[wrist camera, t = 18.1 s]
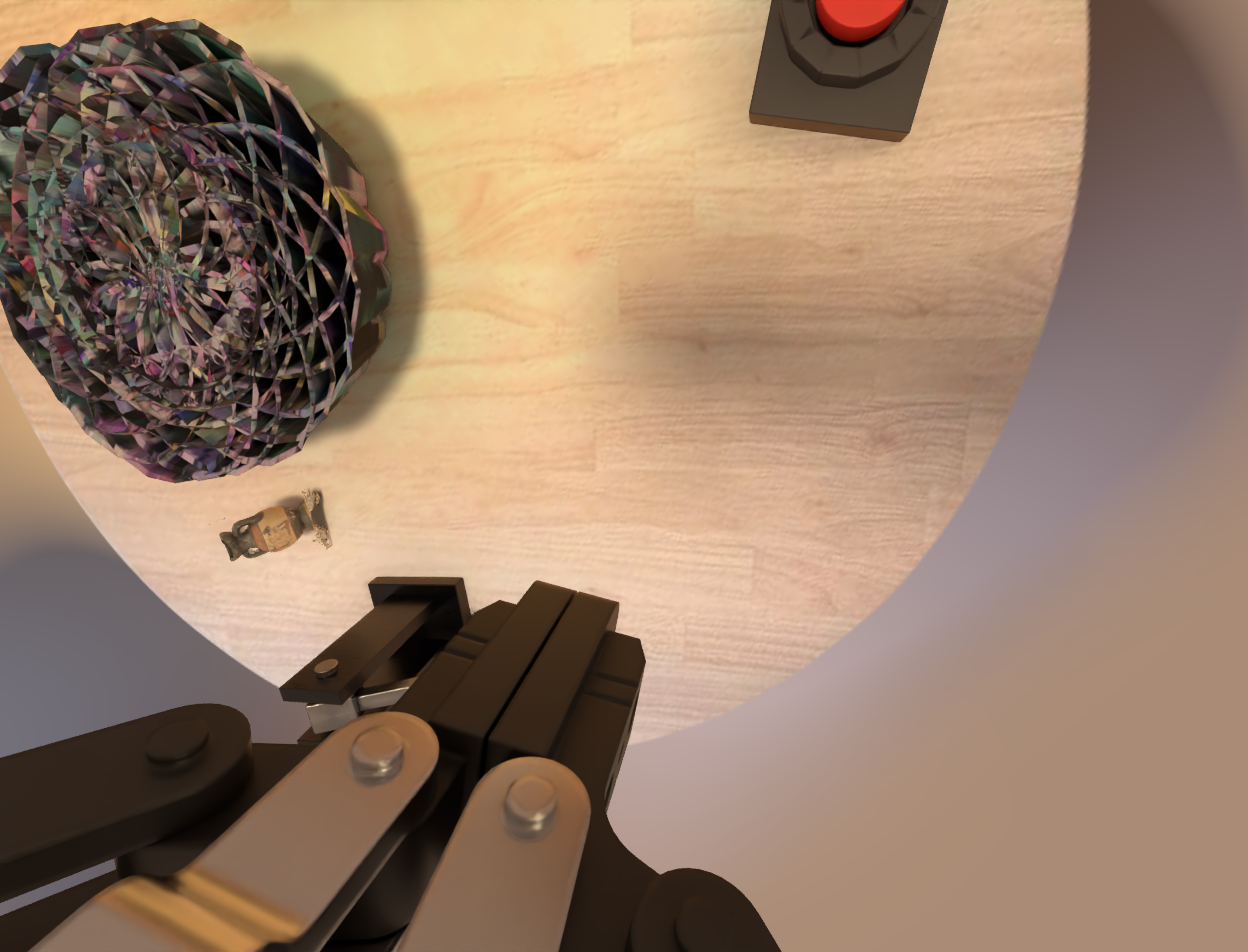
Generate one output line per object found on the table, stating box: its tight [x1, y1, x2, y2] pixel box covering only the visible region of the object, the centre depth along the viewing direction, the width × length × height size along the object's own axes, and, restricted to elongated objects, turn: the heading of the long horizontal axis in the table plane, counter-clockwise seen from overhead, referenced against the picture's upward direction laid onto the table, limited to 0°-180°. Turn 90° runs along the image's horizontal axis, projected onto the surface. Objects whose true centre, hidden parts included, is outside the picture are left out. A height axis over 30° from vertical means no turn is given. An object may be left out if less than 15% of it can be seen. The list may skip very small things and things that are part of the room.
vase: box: [209, 491, 332, 575], centre depth 46 cm, size 5×5×6 cm
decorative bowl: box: [0, 17, 392, 483], centre depth 38 cm, size 26×28×10 cm
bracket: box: [279, 577, 471, 745], centre depth 43 cm, size 8×7×13 cm
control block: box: [749, 0, 948, 142], centre depth 28 cm, size 10×8×4 cm
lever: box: [306, 677, 418, 734], centre depth 39 cm, size 14×6×2 cm, turn 97°
